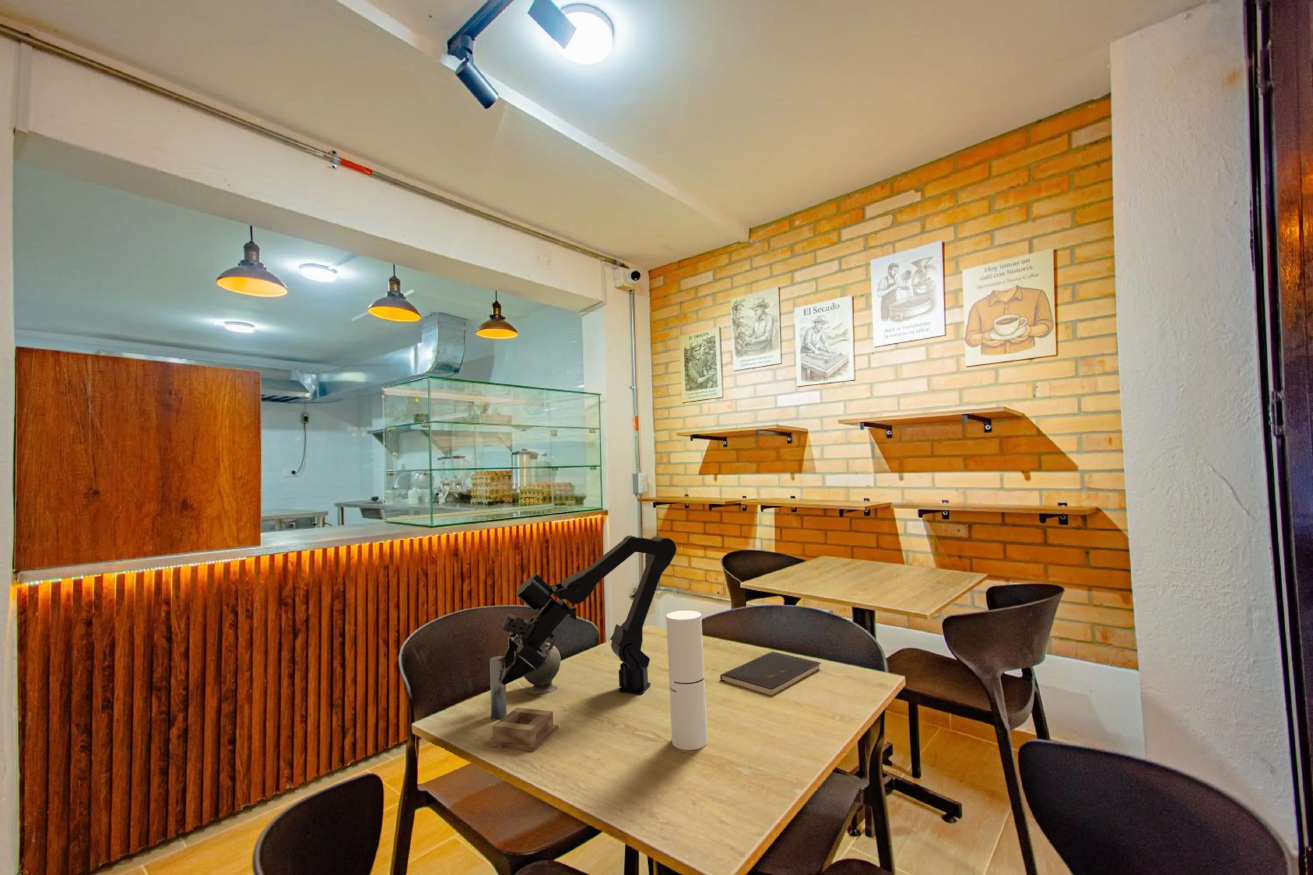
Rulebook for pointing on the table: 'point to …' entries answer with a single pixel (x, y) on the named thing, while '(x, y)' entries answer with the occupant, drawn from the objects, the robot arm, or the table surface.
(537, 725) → the socket board
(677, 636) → the cylindrical container
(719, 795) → the table surface
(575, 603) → the robot arm
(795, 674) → the hardcover book
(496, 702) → the steel pin
